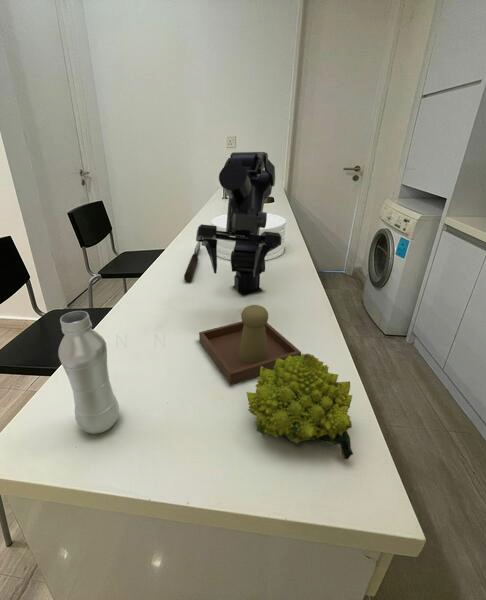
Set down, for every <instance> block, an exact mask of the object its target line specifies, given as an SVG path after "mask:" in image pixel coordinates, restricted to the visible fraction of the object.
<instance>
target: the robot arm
mask: <svg viewBox="0 0 486 600" xmlns="http://www.w3.org/2000/svg"><path fill="white" fill-rule="evenodd" d="M218 182H219V184H220V186H221V188H222V189H223V191H224V193H225V194H226V196H227V197H228V202H227V203H228V204H227V213H226V214H227V226H226V232H224V231H217V227H216V226H212V225H211V224H202V223H201V224H200V225H199V226H198V227H197V230H196V236H195V241H196V242H197V243H198V242H201V245H200V246H202V247H205V249H206V251H207V254H208V257H209V260H210V263H211V266H212V269H213V273H214V274H217V270H218V256H217V239H220V240H229V241H236V242H235V247H234V251H232V253H231V260H230V266H231V267H230V268H231V272H233V273H235V275H234V277H233V280H234V283H233V286H232V288H233V289H234V290H236V291H237V292H238V293H239V294H240V295H241V296H246V295H247V296H248V295H252V294H256V293H260V292H263V288H261V287H260V283H261V281H260V280H261V275H262V274H263V273H265V272H266V260H265V256H266V254H267V253H268V252H270V251H271V250H273V249H275V248H277V247H279V246H280V245H281V239H282V238H281V235H280V234H279V233H274V232H263V233H262V234H261V235H259V230H260V228H265V226H266V221H267V211H266V212H264V205H265V200H267V198H268V197H270V195H272V191H273V187H275V184H276V166H275V165H274V164H273V163H272V162H271V161H270V159H269V155H268V152H265V151H237V152H236V151H235V152H234V151H232V152H231V153H230V155H229V157H228V158H227V159H226V162H225V165H224V166H223V167H222V168H221V170H220V172H219V174H218ZM230 236H232V237H230ZM233 236H234V237H233Z"/></svg>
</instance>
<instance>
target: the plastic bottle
mask: <svg viewBox="0 0 486 600" xmlns="http://www.w3.org/2000/svg"><path fill="white" fill-rule="evenodd" d="M59 322H60V326H61V329H60V330H61V332H62V334H63V335H64V336H63V337H62V339H61V341H60V344H59V346H58V353H57V357H58V359H59V361H60V363H61V366H62V367H63V369H64V371H65V374H66V376H67V378H68V381H69V384H70V387H71V390H72V394H73V395H72V396H73V401H74V417H75V422H76V423H77V426H78V427H79V428H80V429H81V430H82V431H83V432H85V433H87V434H95V435H97V434H101V433H104V432H106V431H108V430H110V429H111V428H112V427H113V426H114V425H115V424H116V422H117V421H118V419H119V416H120V405H119V402H118V400H117V397H116V395H115V394H114V391H113V388H112V385H111V381H110V376H109V369H108V368H109V367H108V347H107V342H106V340H105V338H104V337H103V336H102V335H101V334H100V333H98V331H96V330H94V329H93V328H92V327H93V323H92V321H91V319H90V314H89V312H87V311H84V310H73V311H70V312H67V313H65V314H63V315H62V316H61V317H60V318H59Z"/></svg>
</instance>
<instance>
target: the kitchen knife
mask: <svg viewBox="0 0 486 600" xmlns="http://www.w3.org/2000/svg"><path fill="white" fill-rule="evenodd" d="M201 243H202V242H198V241H197V243H196V245H195V247H194V251H193V252H194V253H193V254H192V256H191V258H190V261H189V263H188V265H187V267H186V269H185V272H184V274H183V275H184V276H183V277H184V278H183V279H184V281H185V283H191V282H192V279H193V276H194V273H195V270H196V267H197V264H198V261H199V257H198V256H199V253H200V250H201V246H202V245H201Z"/></svg>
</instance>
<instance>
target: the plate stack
mask: <svg viewBox="0 0 486 600" xmlns="http://www.w3.org/2000/svg"><path fill="white" fill-rule="evenodd" d="M266 213H267V212H266ZM210 223H211V224H210V225H212V226H216V227H217V231H224V232H226V226H227V213H225V214H222V215H218V216H215V217H213V218H212V219H211V221H210ZM286 225H287V219H286V218H284V217H283V216H281V215H279V214H274V213H269V212H268V213H267V221H266V226H265V228H260V230H259V235H261V234H262V233H263V232H274V233H279V234H280V235H281V238H282V239H281V245H280V246H279V247H277V248H275V249H273V250H271V251H270V252H268V253H267V254H266V256H265V261H269V260H272V259H276V258H278V257H280V256H282V254H284V252H285V239H286V233H285V232H286ZM230 237H232V236H230ZM233 237H234V236H233ZM235 242H236V241H229V240H220V239H217V258H218V257H219V258H220V259H224V260H228V261H231V253H232V251H234V247H235Z"/></svg>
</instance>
